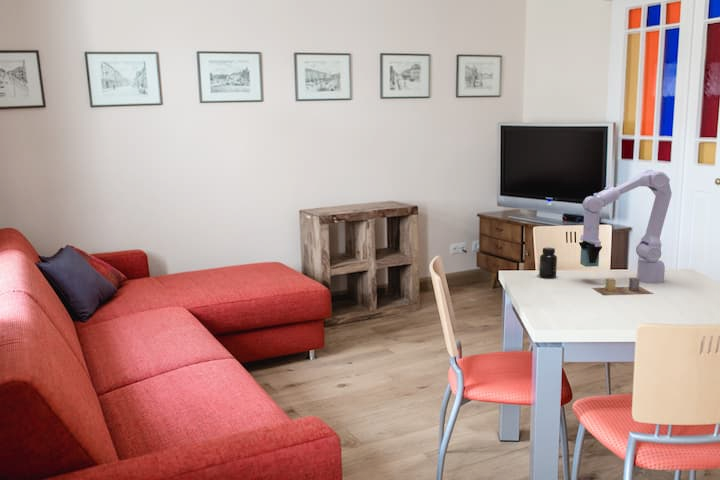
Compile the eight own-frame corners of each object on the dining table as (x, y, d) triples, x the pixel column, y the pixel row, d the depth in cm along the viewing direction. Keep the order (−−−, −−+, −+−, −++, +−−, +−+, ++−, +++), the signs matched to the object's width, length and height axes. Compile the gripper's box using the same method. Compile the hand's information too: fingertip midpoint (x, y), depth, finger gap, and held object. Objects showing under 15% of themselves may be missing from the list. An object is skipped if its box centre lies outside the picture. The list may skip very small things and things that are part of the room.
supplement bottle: (558, 278, 271) (559, 249, 269) (541, 278, 271) (542, 250, 269) (553, 274, 277) (554, 246, 275) (537, 275, 278) (538, 246, 275)
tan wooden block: (612, 290, 249) (612, 278, 248) (615, 291, 246) (615, 279, 245) (605, 290, 249) (605, 278, 248) (608, 292, 246) (609, 280, 245)
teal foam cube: (593, 263, 264) (593, 248, 263) (598, 266, 259) (599, 251, 258) (580, 263, 264) (580, 249, 263) (585, 266, 258) (586, 251, 257)
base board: (639, 288, 254) (639, 286, 254) (653, 295, 243) (654, 293, 243) (591, 289, 253) (591, 287, 252) (603, 297, 242) (603, 295, 242)
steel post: (635, 289, 249) (636, 277, 248) (638, 291, 247) (639, 279, 246) (628, 289, 249) (629, 277, 248) (631, 291, 246) (632, 279, 246)
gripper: (574, 224, 265) (572, 257, 268) (588, 230, 251) (586, 265, 254) (591, 224, 266) (589, 257, 268) (606, 230, 252) (604, 265, 254)
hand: (589, 261), depth 261 cm, fingers closed on teal foam cube, 5 cm apart
